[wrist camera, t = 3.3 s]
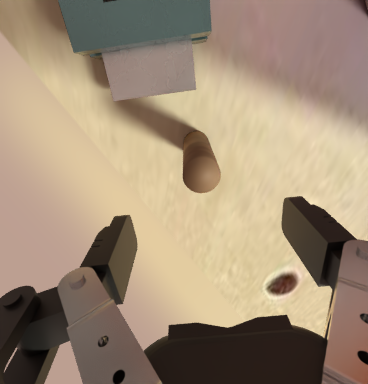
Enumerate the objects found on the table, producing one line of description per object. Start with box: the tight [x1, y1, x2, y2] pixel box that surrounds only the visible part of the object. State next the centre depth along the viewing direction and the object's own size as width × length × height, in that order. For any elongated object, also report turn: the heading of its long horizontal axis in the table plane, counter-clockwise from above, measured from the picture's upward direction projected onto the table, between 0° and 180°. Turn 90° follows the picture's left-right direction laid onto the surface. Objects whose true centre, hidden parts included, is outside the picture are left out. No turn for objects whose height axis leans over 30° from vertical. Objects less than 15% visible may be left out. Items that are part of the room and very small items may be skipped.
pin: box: [183, 131, 221, 193], centre depth 22 cm, size 3×3×10 cm
